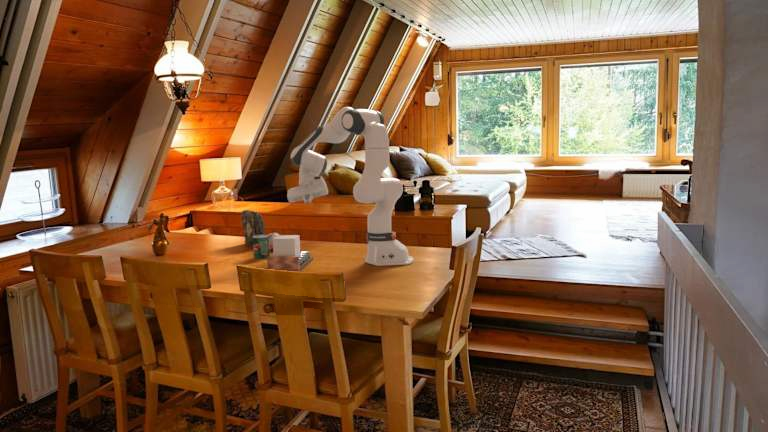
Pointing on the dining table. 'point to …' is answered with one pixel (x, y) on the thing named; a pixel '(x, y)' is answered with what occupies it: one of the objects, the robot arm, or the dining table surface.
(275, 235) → the decorative fruit
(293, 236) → the pale grey cube
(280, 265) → the roller bed
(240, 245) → the dining table surface
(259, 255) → the canned tomato
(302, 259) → the rollers
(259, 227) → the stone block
